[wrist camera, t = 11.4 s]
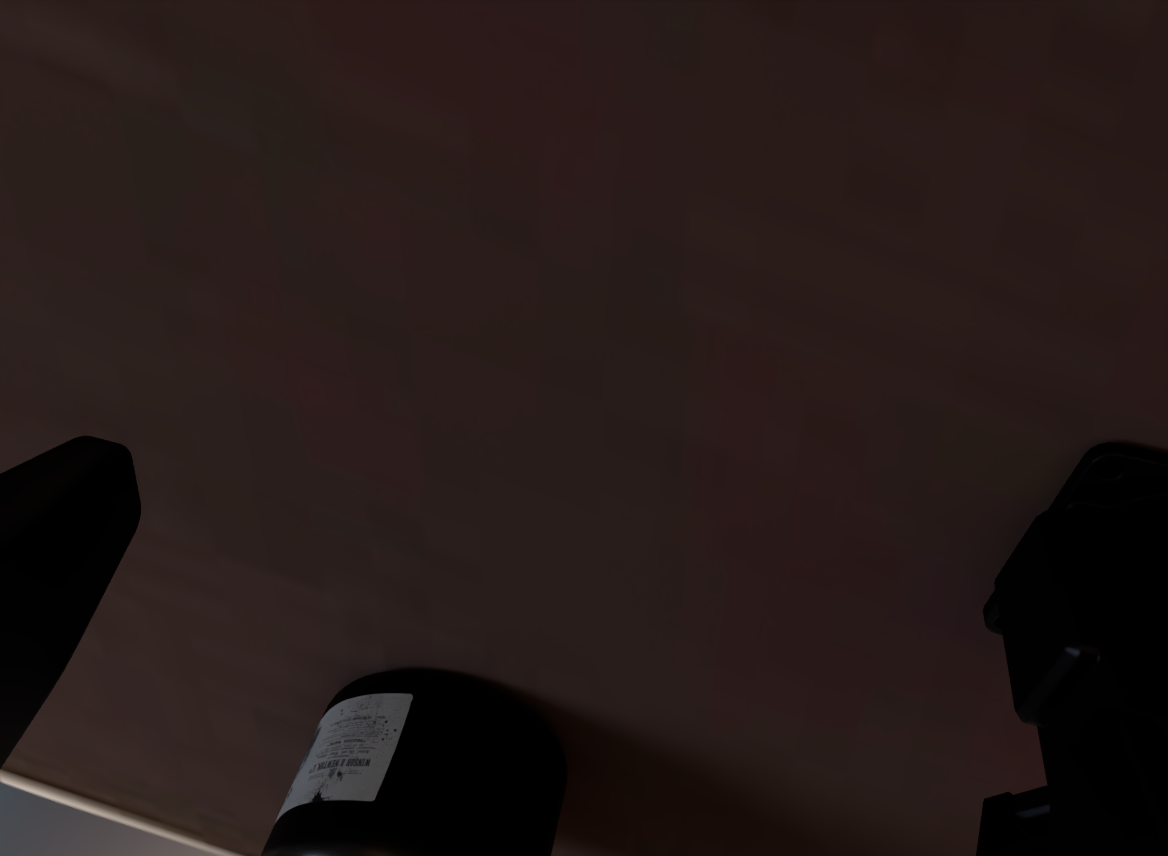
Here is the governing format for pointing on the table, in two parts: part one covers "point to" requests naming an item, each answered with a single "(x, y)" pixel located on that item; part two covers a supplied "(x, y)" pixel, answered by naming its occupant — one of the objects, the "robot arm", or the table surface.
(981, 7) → the table surface
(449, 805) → the ink bottle
